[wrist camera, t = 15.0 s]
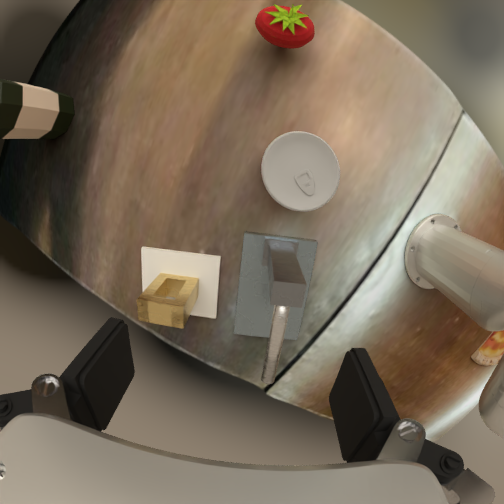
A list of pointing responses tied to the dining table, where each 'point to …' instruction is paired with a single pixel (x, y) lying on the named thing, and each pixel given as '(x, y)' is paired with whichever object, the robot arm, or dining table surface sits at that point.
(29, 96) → the wine bottle
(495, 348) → the pizza slice
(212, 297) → the pad
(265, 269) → the stand
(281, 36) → the strawberry
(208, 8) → the dining table surface
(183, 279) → the rectangular frame block
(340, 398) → the robot arm
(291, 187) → the canned food
